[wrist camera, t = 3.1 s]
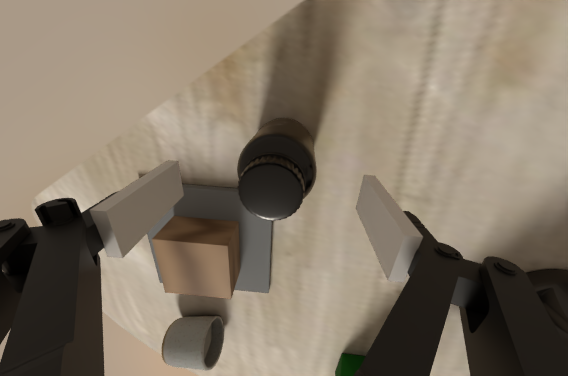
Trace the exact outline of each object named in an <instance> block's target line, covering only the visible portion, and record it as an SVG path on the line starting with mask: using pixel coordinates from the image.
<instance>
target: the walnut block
mask: <svg viewBox="0 0 568 376" xmlns="http://www.w3.org/2000/svg"><path fill="white" fill-rule="evenodd" d="M152 242H153V246H154V250H155V254H156V258H157V262H158V266H159V270H160V274H161V277H162V281H163V285H164V289H165V292H167V293H177V294H187V295H197V296H207V297H217V298H227V299H231V298H232V295H233V292H234V289H235V285H236V282H237V279H238V276H239V273H240V248H239V222H238V221H227V220H216V219H204V218H193V217H182V216H173V217H172V218H171V219H170V220H169V221H168V222H167V223H166V225H165V226H164V227H163V228H162V229H161V230H160V231H159V232H158V233H157V234H156V235H155V236H154V237H153V238H152Z"/></svg>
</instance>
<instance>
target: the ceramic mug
mask: <svg viewBox="0 0 568 376" xmlns="http://www.w3.org/2000/svg"><path fill="white" fill-rule="evenodd" d="M223 341H224V325H223V321H222V319H221V317H219V316H198V317H183V318H179V319H177V320H175V321H174V322H173V323H172V324H171V325H170V326H169V328H168V330H167V331H166V334H165V336H164V339H163V343H162V358H163V360H164V362H165V363H166V364H168V365H170V366H173V367H181V368H191V369H199V370H210V369H212V368H213V367H214V366H215V365H216V363H217V361H218V359H219V356H220V354H221V350H222V346H223Z"/></svg>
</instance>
